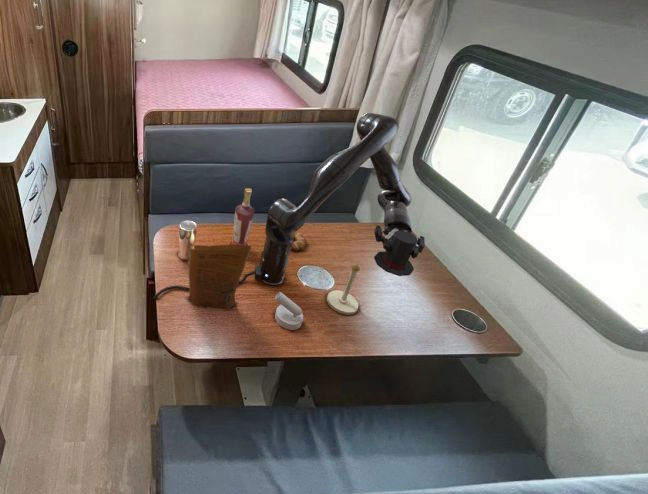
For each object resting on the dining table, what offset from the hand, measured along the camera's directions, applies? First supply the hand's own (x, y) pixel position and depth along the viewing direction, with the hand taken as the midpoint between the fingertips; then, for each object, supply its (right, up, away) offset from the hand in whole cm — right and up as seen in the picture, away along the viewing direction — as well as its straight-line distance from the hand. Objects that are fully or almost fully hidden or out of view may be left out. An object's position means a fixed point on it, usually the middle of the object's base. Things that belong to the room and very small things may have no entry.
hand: (401, 252), depth 119 cm
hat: (+1, -5, +5) cm, 7 cm away
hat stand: (-9, -21, +18) cm, 30 cm away
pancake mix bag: (-55, -21, +18) cm, 61 cm away
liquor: (-39, -6, +44) cm, 59 cm away
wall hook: (-31, -25, +13) cm, 41 cm away
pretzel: (-16, -5, +46) cm, 49 cm away
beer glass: (-62, -8, +39) cm, 74 cm away
